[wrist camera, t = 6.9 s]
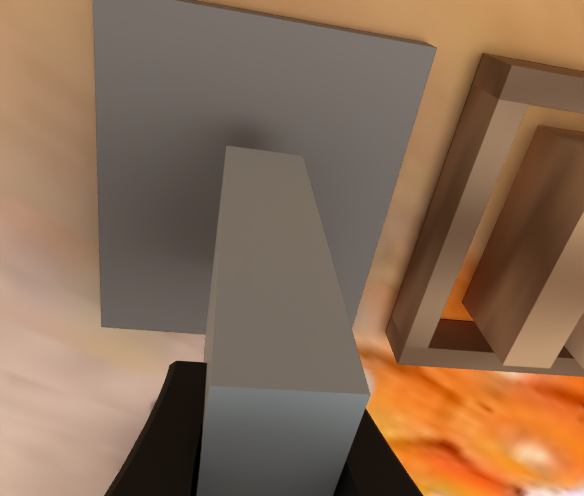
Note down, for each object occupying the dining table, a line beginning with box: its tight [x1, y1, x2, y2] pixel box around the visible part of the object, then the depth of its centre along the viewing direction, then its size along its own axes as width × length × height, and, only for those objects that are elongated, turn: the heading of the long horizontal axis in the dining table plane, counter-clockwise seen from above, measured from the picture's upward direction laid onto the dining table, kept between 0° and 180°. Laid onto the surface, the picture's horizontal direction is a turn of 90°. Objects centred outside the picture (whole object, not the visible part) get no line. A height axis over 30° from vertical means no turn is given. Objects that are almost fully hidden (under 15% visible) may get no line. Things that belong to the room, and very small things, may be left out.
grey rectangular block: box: [194, 146, 370, 496], centre depth 11 cm, size 6×2×8 cm, turn 170°
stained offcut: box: [462, 125, 584, 368], centre depth 18 cm, size 8×2×4 cm, turn 170°
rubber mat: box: [93, 0, 437, 334], centre depth 18 cm, size 12×10×1 cm
